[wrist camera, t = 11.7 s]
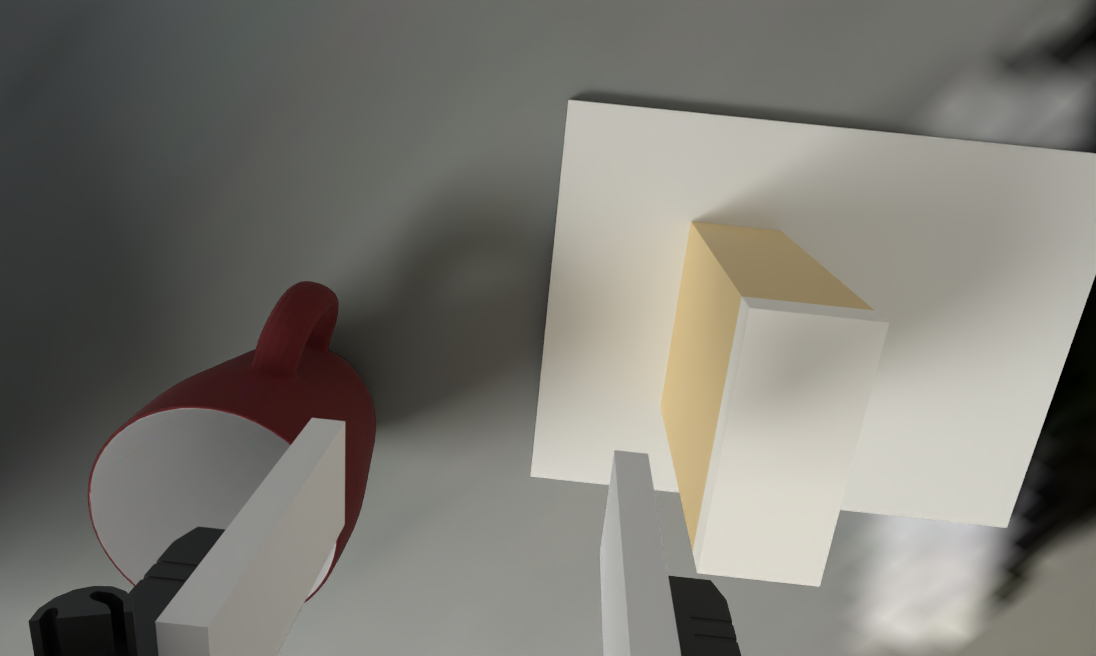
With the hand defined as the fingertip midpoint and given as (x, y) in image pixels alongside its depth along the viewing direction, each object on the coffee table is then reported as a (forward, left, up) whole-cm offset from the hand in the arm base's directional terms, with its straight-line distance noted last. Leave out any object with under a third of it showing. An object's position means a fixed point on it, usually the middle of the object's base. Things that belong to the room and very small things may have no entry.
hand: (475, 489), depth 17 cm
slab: (+8, 0, -14) cm, 16 cm away
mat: (+12, 0, -15) cm, 19 cm away
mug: (-8, -4, -15) cm, 18 cm away
